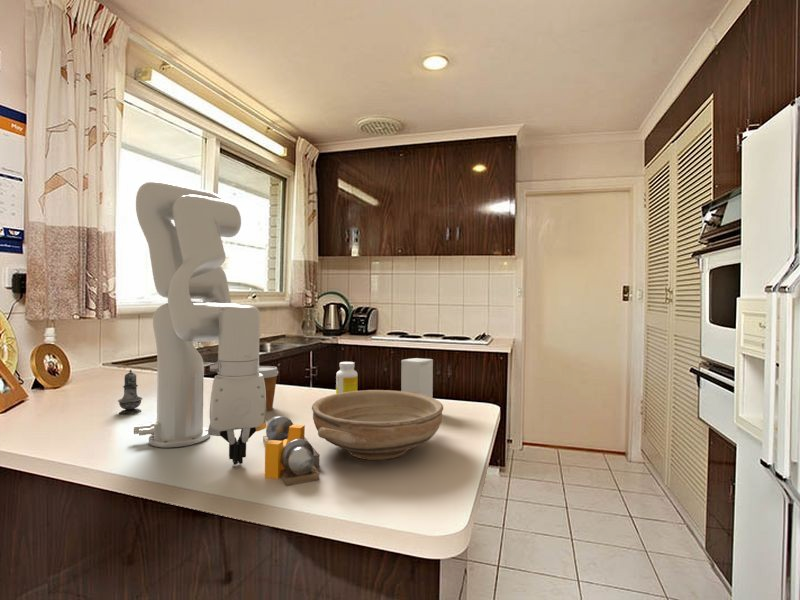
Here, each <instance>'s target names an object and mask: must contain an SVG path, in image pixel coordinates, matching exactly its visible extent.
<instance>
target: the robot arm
mask: <svg viewBox="0 0 800 600" xmlns="http://www.w3.org/2000/svg"><path fill="white" fill-rule="evenodd" d="M135 213H136V217H137V221H138V223H139V224H138V225H139V226H140V228H141V230H142V233H143V235H144V237H145V239H146V242H147V245H148V252H149V257H150V264H151V270H152V271H151V272H152V276H153V282H154V283H153V284H154V286H155V290H156V292H157V293H158V295H159V296H161V297H162V298H165V299H167V303H164V304H162V305H160V306H158V308H156V310H155V311H154V313H153V316H152V327H153V332H154V337H155V338H154V339H155V344H156V356H157V357H156V359H157V360H156V362H157V363H156V364H157V365H156V366H157V371H156V372H157V373H156V375H157V380H156V381H157V387H156V418H155V420H154V422H150V424H137V425H135V424H134V425H133V435H138V436H145V435H146V436H147V435H150V436H149V437H148V444H149V445H151V446H153V447H156V448H180V447H181V448H182V447H187V446H191V445H196V444H199V443H201V442H204V441H205V440H207V439H208V438H209V437H211V436H214V437H221V438H222V439H224V440H225V441H226V442H227V443H228V460H232V463H233V465H235V466H236V465H237V464H240V465H242V464H243V462H244V458H247V442H248V441H249V439H250V438H251V437H252V436H253V435H254V434H255V433H256V432H261V431H262V430H266V428H267V423H266V422H267V412H268V411H266V391H265V382H264V377H263V374H261V373H259V366H260V334H261V330H260V327H261V326H260V325H261V319H260V318H261V313H260V310H259V308H258V307H257V306H255V305H249V304H248V305H247V304H246V305H244V304H243V305H242V304H238V303H232V298H231V295H230V287H229V283H228V280H227V275H226V273H225V270H224V269H223V267H222V266H223V264H224V263H225V261H226V252H225V249H224V245H223V241H222V238H233V237H235V236H237V235H238V233H239V232H240V229H241V227H242V217H241V213H240V211H239V209H238V207H237V206H236V205H235V203H233V202H232V201H231V200H228V199H226V198H224V197H222V196H220V195H219V194H217V193H214V192H213V191H209V190H204V189H202V188H201V189H200V188H196V187H191V186H186V185H183V184H177V183H171V182H165V181H157V180H154V181H148V182H145V183H143V184H142V185H140V186H139V188H138V191H137V193H136V195H135ZM172 221H173V222H174V223H173V222H172ZM192 300H201V301H192ZM215 341H218V349H217V350H218V351H217V353H218V355H217V361H216V362H214V363H209V371H210V372H216V373H217V375H214V377H213V381H212V385H211V386H212V387H211V393H210V394H211V395H210V403H209V404H210V405H209V426H208V427H205V426H204V383H205V382H204V378H205V377H204V376H205V375H204V373H205V371H204V370H205V366H204V359H203V357H202V355H201V353H200V352H199V351H198V350H197V349H196V347H195V345H194V344H196V343H203V342H205V343H206V342H215ZM236 430H240V435H239V436H238V439H237V438H236V436H235V431H236Z"/></svg>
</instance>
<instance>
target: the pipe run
mask: <svg viewBox="0 0 800 600" xmlns="http://www.w3.org/2000/svg"><path fill="white" fill-rule="evenodd" d="M293 424H294V422H292V420H291V418H289V417H286V416H284V415H283V416H281V415H275V416H273V417H271V418H270V419H269V420H268V422H267V423H266V425H267V427H266V428H265V435H263V436H262V443H263V444H264V445H265V443H266V442H268V441H269V440H278V441H283V440H285V439H288V434H289V427H290V426H292V425H293ZM281 462H282V464H283V466H284V467H285V469H282V470H281V477H280V478H282V481H283V484H284V486H291V485H298V484H303V483H308V482H315V481H319V480H320V472H319V470H318V469H320V454H319V453H318V452H317V450H316V449H315V448H314V447H313V445H312V444H311V443H310V441H308V439H307V437H304V439H295V440H292V441H290V442H289V443H287V444H286V445H285V447H284V448H283V450H282V453H281Z"/></svg>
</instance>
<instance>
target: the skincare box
mask: <svg viewBox="0 0 800 600" xmlns="http://www.w3.org/2000/svg"><path fill="white" fill-rule="evenodd" d="M400 363H401V367H400V368H401V369H400V370H401V376H400V377H401V378H400V379H401V380H400V381H401V385H400V387H401V390H400V391H403V392H417V393H419V394H421V395H425V396H428V397H431V398H433V392H434V389H433V387H434V385H433V384H434V383H433V382H434V381H433V378H434V376H433V375H434V372H433V371H434V370H433V369H434V368H433V367H434V359H432V358H421V357H420V358H418V357H415V358H414V357H413V358H407V359H406V358H405V359H401V362H400Z"/></svg>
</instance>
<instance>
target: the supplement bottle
mask: <svg viewBox="0 0 800 600" xmlns="http://www.w3.org/2000/svg"><path fill="white" fill-rule="evenodd" d="M355 363H356V362H355V361H354V362H353V361H341V362H339V370H338V371H337V372H336V376H335V379H336V380H335V383H336V384H335V394H338V393H344V392H351V391H358V381H359V380H358V378H359V377H358V372H357V370H355Z"/></svg>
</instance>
